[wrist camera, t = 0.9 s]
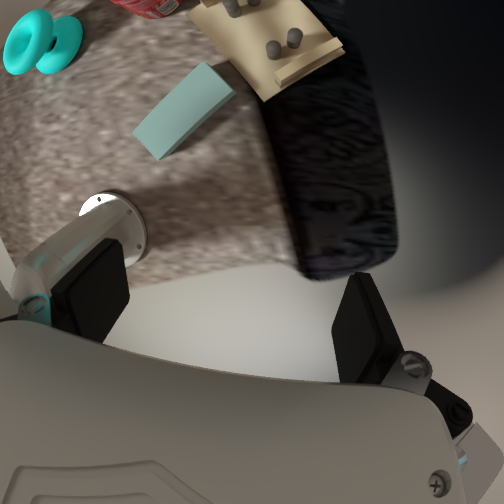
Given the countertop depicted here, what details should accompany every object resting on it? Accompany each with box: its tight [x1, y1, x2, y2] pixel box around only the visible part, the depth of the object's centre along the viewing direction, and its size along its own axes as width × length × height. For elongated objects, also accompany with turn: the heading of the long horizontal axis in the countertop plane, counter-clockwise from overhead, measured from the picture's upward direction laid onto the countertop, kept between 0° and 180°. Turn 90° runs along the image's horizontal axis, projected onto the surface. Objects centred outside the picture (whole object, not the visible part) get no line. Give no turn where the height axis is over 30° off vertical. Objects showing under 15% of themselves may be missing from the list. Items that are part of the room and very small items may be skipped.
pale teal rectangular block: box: [133, 61, 237, 160], centre depth 30 cm, size 12×5×4 cm, turn 131°
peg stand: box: [185, 0, 345, 102], centre depth 21 cm, size 12×16×9 cm
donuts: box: [3, 9, 83, 75], centre depth 21 cm, size 10×10×10 cm
